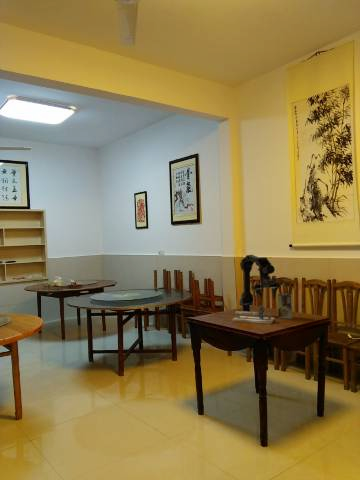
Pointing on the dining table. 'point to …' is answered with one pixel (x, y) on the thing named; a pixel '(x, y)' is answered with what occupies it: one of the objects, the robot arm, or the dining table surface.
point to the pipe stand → (252, 319)
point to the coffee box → (285, 305)
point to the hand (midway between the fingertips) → (267, 299)
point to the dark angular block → (261, 312)
